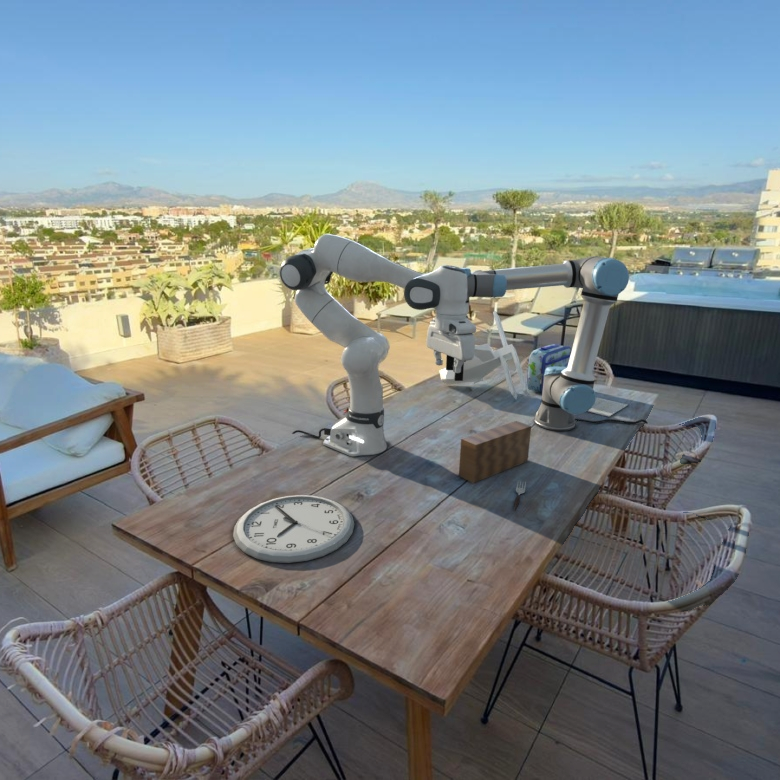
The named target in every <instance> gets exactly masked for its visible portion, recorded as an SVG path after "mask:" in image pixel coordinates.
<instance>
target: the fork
mask: <svg viewBox="0 0 780 780" xmlns="http://www.w3.org/2000/svg"><path fill="white" fill-rule="evenodd" d="M526 484H527V481H525V482H524V483H522V480H519V479H518V480H517V484H516V486H515V487H516V488H515V492H516V493H517V496H516V498H515V500H514V511H516V510H517V508H518V506H519V505H520V502H521V501H520V500H521V495H522V494H525V492H526Z"/></svg>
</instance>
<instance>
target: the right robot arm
mask: <svg viewBox="0 0 780 780" xmlns="http://www.w3.org/2000/svg"><path fill="white" fill-rule="evenodd" d="M460 268H461V269H463V270H464V271H465V272H466V275H467V300H466V303H465V309H466V318H468V319H469V316H468V315H469V313H470V312H469V311H470V298H494V299H496V298H503V297H505V295H506V292H507V291H512V290H524V289H536V288H537V289H538V288H545V287H546V288H547V287H560V286H563V287H564V288H567V289H569V288H577V289H581V294H580V296H581V298H582V299H583V304H582V308H581V312H580V315H579V320H578V324H577V329H576V331H575V335H574V340H573V344H572V348H571V355H570V359H569V363H568V366H567V367H548V368H546V369H545V374H544V382H543V391H542V393H541V402H540V405H539V407H538V410H537V411H536V413H535V417H534V424H535V425H536V426H537V427H539V428H542V429H544V430H549V431H556V432H567V431H572V430H574V429H575V428H576V422H581V423H586V424H601V423H609V422H611V423H620V424H626V425H637V424H639V423H644V424H646V425H647V424H648V421H647V420H646V419H643V418H641V419H638V420H635V421H630V420H628V421H627V420H621V419H614V418H613V419H612V418H606V419H600V420H589V419H585V418H584V419H582V418H577V417H576V416H575V415H582V414H586V412H588V410H590V409H591V408H592V406H593V405H594V403H595V400H596V397H597V396H596V392H595V390H594V386H595V381H596V376H594V374H593V373H594V368H595V364H596V360H597V356H598V353H599V349H600V346H601V342H602V339H603V334H604V331H605V327H606V323H607V319H608V315H609V312H610V309H611V306H612V305H614V304H615V303H617V301H618V298H619V294H621V293H622V292H623V291H625V289H626V288H627V286H628V284H629V281H630V272H629V270H628V269H629V268H628V267H627V266H626V264H624V262H623V261H621V260H619V259H616V258H613V257H604V256H587V257H583V258H575V259H569V260H568V259H567V260H564V261H563V263H558V264H557V263H555V264H545V265H537V266H534V265H533V266H524V267H523V266H522V267H511V268H502V269H490V270H481V269H478V270H475V271H472V269H471V268H469V267H460ZM445 360H446V361H445V368H446V370H453V366H454V362H455V365H456V360H455V361H454V357H451V356H449V355H446V359H445ZM464 362H466V361H464ZM463 369H464V363H463V365H462V367H461V372H460V373H455V381H463ZM575 417H576V418H575Z"/></svg>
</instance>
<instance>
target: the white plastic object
mask: <svg viewBox="0 0 780 780" xmlns="http://www.w3.org/2000/svg"><path fill="white" fill-rule="evenodd" d="M492 315H493V319H494V321H495V324H496V325H495V326H496V328H497V332H498V335H499V338H500V342H501V345H502V347H500V348H498V349H496V350H495V349H493V348H492V347H491V346H490V344H489V343H488V342H487V343H483V344H479V345H475V351H474V357H473V358H472V360H467V361H466V362H464V369H463V381H455V372H453V370H446V367H444V368H442V369H440V370H439V371H438V372H439V376H440V381H442V383H443V384H444V385H445V386H449V385H458V384H467V383H468V384H469V383H473V384H477V383H480V382H482V381H484V378H485V377H486V376H487V375H489V374H490V373H492V372H494V371H495V370H496V369H497V368H499V367H500V366H502V370H503V373H504V376H505V380H506V383H507V386H508V390H509V393H510V394H511V395H512V397H513V398H514V399H515V400H517V392H516V391H517V390H516V388H515V385H514V381H513V378H512V375H511V371H510V369H509V365H508V361H510V360H513V363H514V366H515V369H516V372H517V376H518V380H519V382H520V385H521V389H522V391H523V393H524V395H525V396H526V397H528V396H531V395H530V390H529V389H528V387H527V380H526V378H525V375H524V371H523V369H522V368H523V367H522V366H521V362H520V359H519V355H518V352H517V349H516V347H515V346H514V345H513V343H511V344H508V341H507V337H506V334H505V331H504V328H503V325H502V321H501V318H500V315H499V314H498V312H497V311H496V310H495V311H492ZM455 360H456V358H454V361H455ZM454 366H455V362H454Z"/></svg>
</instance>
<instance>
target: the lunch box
mask: <svg viewBox="0 0 780 780" xmlns="http://www.w3.org/2000/svg"><path fill="white" fill-rule="evenodd" d="M571 351H572V348H571V347H570V346H567V345H566V346H565V345H561V344H556V343H555V344H554V343H553V344H548V345H545V346H541V347H539V348H536V349H534V350H532V351H531V353H530V355H529V357H528V363H527V375H526V384H527V387H528V390H529V391H532V392H533V391H534V392H539V393H540V394H542V391H543V382H544V374H545V369H546V368H548V367H567V366H568V363H569V359H570V355H571Z"/></svg>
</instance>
